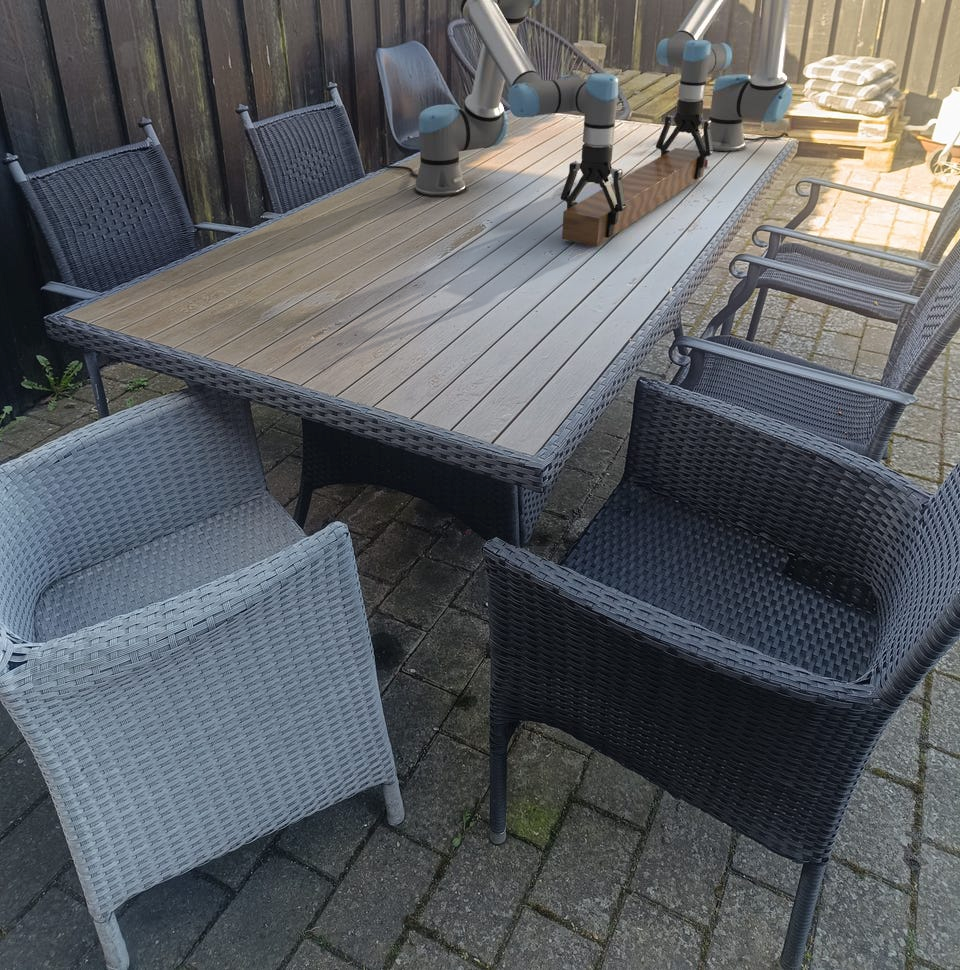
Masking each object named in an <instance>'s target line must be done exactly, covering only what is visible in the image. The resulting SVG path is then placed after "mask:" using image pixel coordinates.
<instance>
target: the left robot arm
mask: <svg viewBox="0 0 960 970" xmlns="http://www.w3.org/2000/svg"><path fill="white" fill-rule="evenodd" d="M539 2H540V0H456V3H457V8H458V10H459V12H460V14H461V15H462V17H463V19H464V21H465V22H466V23H467V24H469V25H472V26H473V28H474V30H475V32H476V33H477V35H478V36H479V39H480V40H481V42H482V43H481V48H480V52H479V58H478V62H477V66H476V72H475V77H474V80H473V81H474V82H473V86H472V90H471V93H470V94H468V95H467V96H466V97H465V100H464V104H463V108H458V106H457V105H455V104H449V103H446V104H437V105H432V106H429V107H426V108H425V109H423V110H422V111H421V112H420V114H419V116H418V118H419V119H418V136H419V138H418V139H419V157H420V158H419V159H420V161H419V162H420V164H419V168H418V172H417V173H415V172H414V170H413V168H411V167H408V166H402V165H389V164H388V165H387V164H384V163H382V162H383V157H382V156H380V157H379V160H378V164H379V165H380V167H382V168H386V169H401V170H408V171H410V173H411V175H412V177H415V178H416V180H415V192H417V193H418V194H420V195H424V196H430V197H450V196H455V195H459V194H461V193H463V192H464V191H466V181H465V179H464V176H463V172H462V169H461V165H460V152H464V151H472V150H479V149H489V148H491V147H495V146H498V145H500V144H501V143H502V142H503V141H504V139H505V137H506V134H507V130H508V123H507V121H508V116H507V112H506V110H505V109H504V105H503V104H502V102H501V99H502V94H503V91H504V87H505V83H506V84H507V86H508V88H509V91H508V94H507V103H508V105H509V111H510V112H511V114H512V115H513V116H514V117H516V118H534V117H538V116H545V115H550V114H551V115H552V114H554V115H555V114H561V113H568V112H578V113H580V114H583V115H584V120H583V133H582V143H583V144H582V146H581V162H578V161H577V160H575V161H573V162H571V163H569V166H568V168H569V169H568V170H569V171H568V175H567V178H566V180H565V183H564V186H563V189H562V192H561V195H560V200H561V201H564V202H566V210H567V209H568V208H570V207H572V206H574V205H576V204H577V203H578V202H577V201H576V200H577V198H578V196H579V195H580V193H581V192H582V190H583V189H584V187H585V186H586V184H587V183H594V184H595V185H599V187H600V188H601V190H602V189H603V192H604V194H605V197H606V199H607V201H608V204H609V206H610V209H611V211H610V212H608V221H607V231H606V238H609V237H611V236H612V235H613V231H614V225H615V224H617V222H618V213H619V211H622V210H624V209H626V201H625V195H624V189H623V183H622V178H623V172H624V171H623V169H622V168H619V169H618V168H617V169H616V168H613V167H612V160H613V149H614V146H613V143H614V138H615V128H616V127H615V126H616V115H617V105H618V97H619V79H618V77H617V76H616V75H614V74H612V73H604V72H603V73H601V72H599V73H598V72H597V73H592V74H589V75H588V77H587V78H584V77H581V76H579V75H576V74H564V75H562V76H561V77H560V78H558V79H548V80H543V79H542V78H541V76H540V75H539V73H538V72H537V70H536V68H535V66H534V65H533V63H532V61H531V60H530V59H529V57H528V55H527V53H526V52H525V50H524V48H523V46H522V45H521V43H520V41H519V40H518V38H517V33H518V32H517V31H518V28H519V25H521V24H522V23H524V22H525V21H526V18H527V15H528V10H529V9H533V8H535V7H536V6H537V5H538V4H539ZM579 171H580V172H581V173H582V176H581V177H580V179H579V180H578V182H577V184H576V185H575V187H574V189H573V186H574V184H575V180H576V177H577V175H578V172H579ZM610 175H611V178H612V179H613V180H612V184H613V183H614V189H615V195H616V197H615V195H614V192H613V190H612V187H611V180H610V178H609V176H610ZM572 189H573V190H572ZM612 237H613V236H612ZM612 237H611V238H612ZM609 239H610V238H609Z"/></svg>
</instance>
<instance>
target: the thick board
mask: <svg viewBox="0 0 960 970" xmlns="http://www.w3.org/2000/svg"><path fill="white" fill-rule="evenodd" d="M699 156H700V153H699V151H698V150H692V149H686V148H680V147H674V148H673V149H671V150H670V151H669V152H668V153H666V154H664V155H662V156H661V155H660V156H659V157H657V158H655V159H653V160H651V161H650V162H648V163H646V164H645V165H643V166H640V167H639V168H637V169H636V170H634V171H632V172H631V173H629V174H627V175H625V176H622V183H623V189H624V195H625V201H626V209H624V210H622V211H619V213H618V222H617V224H615V225H614V231H613V235H612V236H611V237H609V238H606V231H607V221H608V212H610V211H611V209H610V206H609V204H608V201H607V199H606V197H605V194H604V192H603V189H602V188H601V189H600V190H598V191H597V192H595V193H593V194H591V195H590V196H588V197H586V198H584V199H583V200H581V201H579V202H577V204H576V205H574V206H572V207H570V208H568V209H567V208H566V209H565V210H563V216H562V231H561V240H564V241H570V242H573V243H578V244H584V245H587V246H592V247H599V246H600V245H602V244H604V243H605V242H606V241H608V240H609V239H611V238H612V237H614V236H616V235H617V234H618V233H620V232H621V231H623V230H625V229H626V228H628V227H629V226H630V225H632V224H633V223H635V222H636V221H638V220H639V219H641V218H642V217H644V216H646V215H647V214H649V213H650V212H652V211H653V210H654V209H656V208H658V207H659V206H660V205H662V204H664V203H665V202H667V201H668V200H669V199H671V198H673V197H675V196H676V195H677V194H678V193H680V192H682V191H683V190H685V189H686V188H687V187H689V186H691V185H692V184H694V183H695V182H697V181H698V180H700V179H701V178H703V177H704V171H705V167H703V168H701V174H700V178H698V179H695V173H696V166H697V159H698V157H699ZM610 185H611V187H612V190H613V192H614V195H615V189H614V183H613V182H612V183H610ZM615 197H616V195H615Z"/></svg>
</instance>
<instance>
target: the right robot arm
mask: <svg viewBox="0 0 960 970" xmlns="http://www.w3.org/2000/svg"><path fill="white" fill-rule="evenodd" d="M727 2H728V0H696V2H695V4H694V5H693V6H692V8H691V9H690V10H689V13H688V14H687V16H686V17H685V19H684V20H683V21H682V23H681V25H680V26H679V28H678V29H677V31H676V32H675V34H674V35H673V36H672V38H671V37H668V38H666V37H665V38H663V39H661V40H660V42H659V43H658V45H657V48H656V53H655V55H656V61H657V63H658V64H659V65H661V66H664V67H668V68H677V69H681V71H680V72H681V73H680V80H679V87H678V94H677V98H678V99H677V104H676V110H675V111H676V113H675V115H671V114H668V115H666V116H665V117H664V124H663V127H662V130H661V132H660V135H659V137H658V140H657V142H656V144H655V148H656V149H658V150H660V156H662V155H664V154H666V153H668V152H669V151H671V150H669V147H670V146H671V145H672V143H673V142H674V140H675V139H676V138H677V136H678V135H679V133H687V134H691V136H692V137H693V140H694V142H695V146H696V148H697V151H699V153H700V156H699V157H698V159H697V166H696V173H695V179H698V178H700V174H701V168H703V167H704V166H705V161H706V159H707V157H710V156H712V155H713V154H714V151H715V152H716V151H717V152H736V151H741V150H743V149H744V148H745V143H746V142H745V141H752V142H756V141H759V140H777V139H781V138H783V137H784V136H785V137H789V134H788V133H787V132H782V133H781V134H780V135H778V136H758V137H755V138H753V137H745V136H744V126H743V123H744V119H747V120H754V121H758V122H763V123H772V124H775V123H778V122H779V121H781V120H782V119H783V118H784V116H785V115H786V113H787V112H788V110H789V108H790V106H791V103H792V99H793V92H794V91H793V87H792V86H790V85H787V83H788V77H787V75H786V74H785V72H784V68H785V67H784V65H785V58H786V50H787V49H786V47H787V39H788V31H789V20H790V11H791V2H792V0H761V9H760V19H759V30H758V31H759V33H758V34H759V35H758V42H757V54H756V66H755V73H754V74H753V75H752V76H751V75H750V74H747V73H746V74H745V73H744V74H742V73H739V74H737V73H736V74H727V75H722V76H719V77H717V78H716V79H715V81H714V85H713V90H712V95H711V96H712V97H711V104H710V110H709V118H708V120H705V119H703V118H702V115H703V114H702V113H703V107H704V100H703V99H704V98H705V92H706V86H707V80H708V79H707V78H708V75H709V74H713V73H718V72H721V71H724V70H725V69H727V68H728V67H729V66H730V64H731V62H732V59H733V52H732V51H733V50H732V48H731V47H730V45H728V44H727V43H725V42H715V43H711V42H710V41H709V40H706V39H702V38H703V37H704V36H705V34H706V32H707V31H708V30H709V28H710V26H711V25H712V24H713V22H714V20H715V19H716V18H717V16H718V15H719V13H720V12H721V10H722V8H723V7H724V5H725V4H726V3H727ZM673 123H675V125H676V126H675V128H674V129H673V131H672V132H671V134H670V135H669V136H668V137H667V135H668V133H669V131H670V128H671V126H672V124H673ZM700 126H701V127H702V129H703V134H702V135H701V132H700V129H699V127H700ZM666 138H667V139H666ZM704 168H705V167H704ZM700 179H701V178H700ZM698 180H699V179H698Z"/></svg>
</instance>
